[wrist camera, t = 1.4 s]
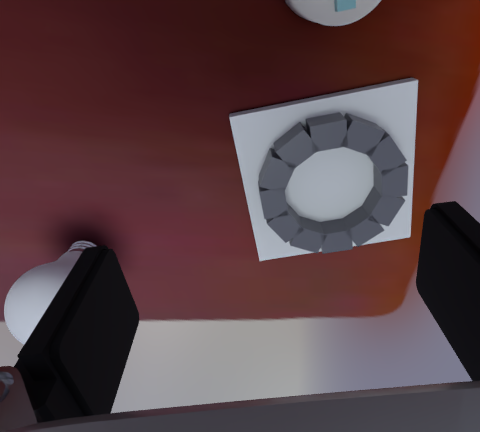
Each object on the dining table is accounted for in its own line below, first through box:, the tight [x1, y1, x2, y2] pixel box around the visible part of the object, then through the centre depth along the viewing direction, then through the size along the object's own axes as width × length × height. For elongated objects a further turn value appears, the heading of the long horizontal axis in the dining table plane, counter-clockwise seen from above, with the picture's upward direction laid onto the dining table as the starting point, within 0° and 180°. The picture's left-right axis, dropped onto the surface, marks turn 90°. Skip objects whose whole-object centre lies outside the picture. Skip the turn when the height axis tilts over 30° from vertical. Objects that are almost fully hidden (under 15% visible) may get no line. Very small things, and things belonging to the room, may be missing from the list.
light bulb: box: [4, 240, 97, 345], centre depth 31 cm, size 7×7×11 cm
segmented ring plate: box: [229, 77, 418, 261], centre depth 30 cm, size 14×14×3 cm
